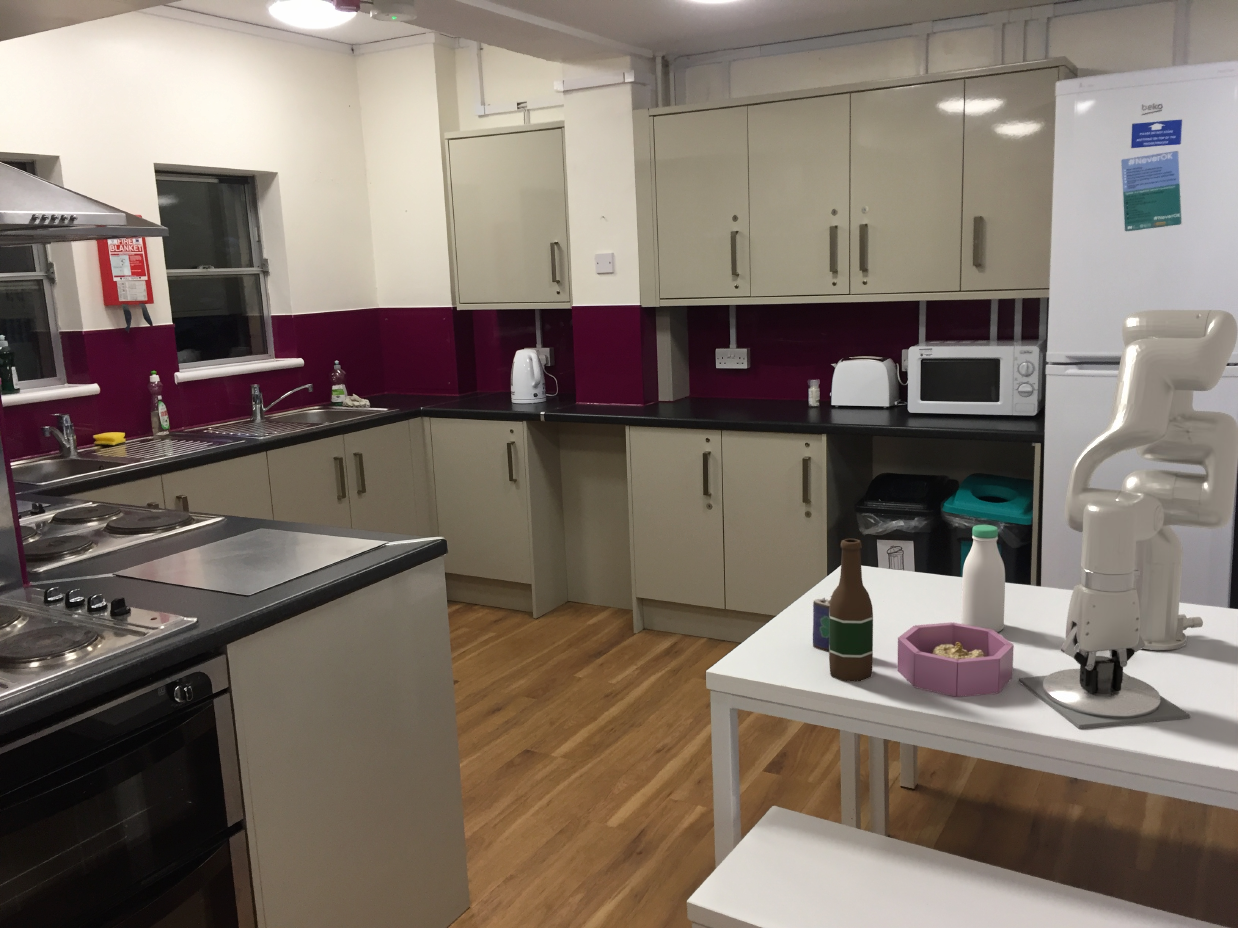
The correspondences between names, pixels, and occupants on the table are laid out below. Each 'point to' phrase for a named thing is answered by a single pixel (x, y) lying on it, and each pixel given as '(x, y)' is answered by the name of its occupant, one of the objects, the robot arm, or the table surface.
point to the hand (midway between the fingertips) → (1100, 687)
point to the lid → (1102, 693)
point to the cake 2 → (956, 652)
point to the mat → (1086, 721)
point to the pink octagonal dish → (951, 672)
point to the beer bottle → (851, 620)
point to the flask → (821, 624)
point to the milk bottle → (983, 581)
